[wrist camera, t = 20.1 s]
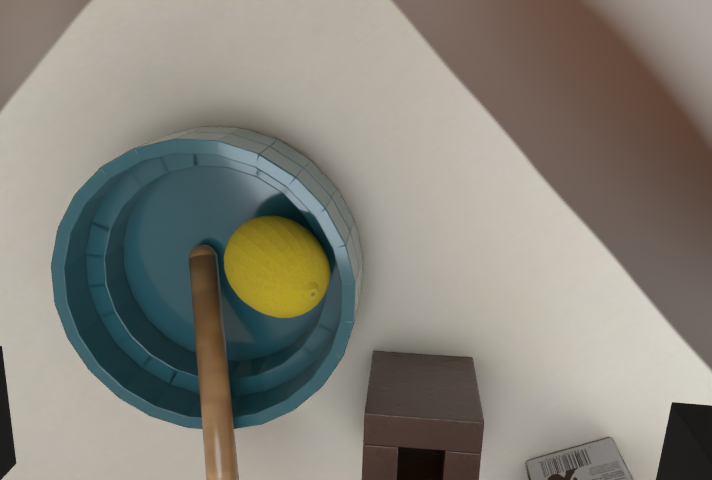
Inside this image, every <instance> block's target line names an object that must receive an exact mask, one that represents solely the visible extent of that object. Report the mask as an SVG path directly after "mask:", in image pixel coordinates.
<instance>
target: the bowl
mask: <svg viewBox="0 0 712 480" xmlns="http://www.w3.org/2000/svg"><path fill="white" fill-rule="evenodd" d="M260 216H280V217H284V218H287V219H291V220H293V221H295V222H297V223H298V224H300V225H301V226H303V227H305V228H306V229H307V230H309V231H310V232H311V233H312V234H313V235H314V237H315V238H316V239H317V240H318V242H319V243H320V244H321V245H322V247H323V249H324V250H325V253H326V255H327V258H328V260H329V265H330V281H329V285H328V288H327V291H326V293H325V295H324V296H323V298H322V300H321V301H320V302H319V303H318V304H317V305H316V306H315V307H314V308H313V309H311V310H310V311H308V312H306V313H304V314H302V315H300V316H296V317H293V318H277V317H273V316H270V315H266V314H263V313H261V312H259V311H257V310H255V309H253V308H252V307H251V306H249V305H248V304H246V303H245V302H244V301H242V300H241V299H240V298H239V297H238V295H237V294H236V293H235V291H234V290H233V288H232V287H231V286H230V284H229V282H228V279H227V276H226V273H225V269H224V254H225V249H226V246H227V243H228V241H229V239H230V237H231V236H232V235H233V233H234V232H235V230H237V229H238V228H239V227H240V226H241V225H242V224H244V223H245V222H247V221H249V220H251V219H254V218H257V217H260ZM198 245H208V246H210V247H212V248H213V249H214V250H215V252H216V254H217V257H218V267H219V278H220V288H221V298H222V309H223V319H224V330H225V340H226V350H227V361H228V371H229V381H230V392H231V402H232V412H233V423H234V429H236V428H242V427H248V426H255V425H260V424H264V423H266V422H268V421H270V420H273V419H275V418H277V417H279V416H282V415H284V414H286V413H288V412H291V411H293V410H294V409H296V408H297V407H298V406H299V405H301V404H302V403H303V402H304V401H306V400H307V399H308V398H309V397H310V396H312V395H313V394H314V393H315V392H317V391H318V390H319V389H320V388H321V387H322V386H323V385H324V384H325V382H326V381H327V379H328V378H329V376H330V375H331V373H332V372H333V371H334V369H335V368H336V366H337V365H338V363H339V362H340V360H341V359H342V357H343V355H344V352H345V349H346V346H347V343H348V340H349V337H350V334H351V331H352V328H353V325H354V321H355V316H356V311H357V307H358V302H359V298H360V293H361V285H362V259H363V256H362V250H361V246H360V242H359V237H358V233H357V229H356V225H355V221H354V219H353V217H352V215H351V213H350V211H349V209H348V208H347V206H346V204H345V202H344V200H343V198H342V197H341V195H340V193H339V191H338V189H337V188H336V187H335V186H334V184H333V183H332V182H331V181H330V180H329V179H328V178H327V177H326V176H325V175H324V174H323V173H322V172H321V171H320V170H319V168H318V167H317V166H316V165H315V164H314V163H313V162H312V161H310V160H309V159H308V158H306V157H305V156H303V155H302V154H300V153H298V152H297V151H295V150H294V149H292V148H291V147H289V146H287V145H286V144H284V143H283V142H281V141H279V140H277V139H275V138H271V137H268V136H265V135H262V134H259V133H256V132H252V131H249V130H246V129H241V128H229V127H207V126H206V127H200V128H195V129H191V130H187V131H182V132H178V133H174V134H170V135H167V136H164V137H162V138H159V139H157V140H154V141H151V142H149V143H146V144H144V145H141V146H138V147H136V148H134V149H132V150H130V151H128V152H126V153H125V154H123V155H121V156H119V157H118V158H116V159H114V160H112V161H110V162H109V163H107V164H105V165H103V166H102V167H101V168H99V169H98V171H97V172H96V173H95V174H94V175H93V176H92V177H91V178H90V179H89V180H88V181H87V182H86V183H85V184H84V185H83V186H82V187H81V188H80V189H79V190H78V191H77V193H76V194H75V195H74V197H73V199H72V201H71V203H70V205H69V207H68V209H67V211H66V213H65V215H64V217H63V219H62V221H61V223H60V225H59V227H58V230H57V235H56V241H55V246H54V252H53V257H52V263H51V271H52V282H53V292H54V302H55V306H56V308H57V311H58V314H59V316H60V319H61V322H62V325H63V327H64V330H65V333H66V335H67V338H68V340H69V341H70V343H71V344H72V346H73V347H74V349H75V350H76V352H77V353H78V355H79V356H80V358H81V359H82V361H83V362H84V363H85V365H86V366H87V368H88V369H89V370H90V372H92V373H93V374H94V375H95V376H96V377H97V378H98V379H99V380H100V381H101V382H102V383H103V384H104V385H106V386H107V387H108V388H109V389H110V390H111V391H112V392H113V393H114V394H115V395H116V396H118V398H120V399H122V400H124V401H125V402H127V403H129V404H130V405H132V406H134V407H136V408H137V409H139V410H141V411H142V412H144V413H146V414H148V415H149V416H152V417H155V418H158V419H161V420H164V421H167V422H171V423H174V424H177V425H180V426H183V427H187V428H197V429H203V428H202V416H201V404H200V393H199V381H198V369H197V357H196V345H195V333H194V321H193V309H192V297H191V285H190V273H189V261H188V260H189V254H190V252H191V250H192V249H193V248H194V247H196V246H198Z"/></svg>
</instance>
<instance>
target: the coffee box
mask: <svg viewBox="0 0 712 480" xmlns="http://www.w3.org/2000/svg"><path fill="white" fill-rule="evenodd" d="M526 470H527V474H528V478H529V480H633V478H632V476H631V474H630V473H629V470H628V468H627V466H626V464H625V462H624V460H623V458H622V456H621V454H620V452H619V450H618V448H617V446H616V444H615V442H614V440H613V439H612V438H606V439H603V440H599V441H596V442H592V443H589V444H585V445H582V446H578V447H574V448H571V449H567V450H564V451H560V452H557V453H553V454H550V455H546V456H542V457H539V458H536V459H532V460H529V461H527V462H526Z"/></svg>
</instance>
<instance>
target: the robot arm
mask: <svg viewBox="0 0 712 480" xmlns="http://www.w3.org/2000/svg"><path fill="white" fill-rule="evenodd" d="M15 464H16V457H15V449H14V441H13V433H12V425H11V417H10V409H9V401H8V393H7V384H6V376H5V368H4V360H3V352H2V346H0V480H1V479H2V478H3V477H4V476H5V475H6V474H7V473H8V472H9V470H10V469H11V468H12V467H13V466H14V465H15ZM656 480H712V406H709V405H697V404H685V403H673V402H672V405H671V410H670V415H669V420H668V424H667V429H666V434H665V439H664V444H663V449H662V453H661V458H660V463H659V468H658V473H657V477H656Z"/></svg>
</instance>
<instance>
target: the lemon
mask: <svg viewBox="0 0 712 480" xmlns="http://www.w3.org/2000/svg"><path fill="white" fill-rule="evenodd" d="M224 269H225V273H226V276H227V279H228V282H229V284H230V286H231V287H232V288H233V290H234V291H235V293H236V294H237V295H238V297H239V298H240V299H241V300H242V301H244V302H245V303H246V304H248V305H249V306H251V307H252V308H253V309H255V310H257V311H259V312H261V313H263V314H266V315H270V316H273V317H277V318H293V317H296V316H300V315H302V314H304V313H306V312H308V311H310V310H311V309H313V308H314V307H315V306H316V305H317V304H318V303H319V302H320V301H321V300H322V298H323V296H324V295H325V293H326V291H327V288H328V285H329V281H330V265H329V260H328V258H327V255H326V253H325V250H324V249H323V247H322V245H321V244H320V243H319V242H318V240H317V239H316V238H315V237H314V235H313V234H312V233H311V232H310V231H309V230H307V229H306V228H305V227H303V226H301V225H300V224H298V223H297V222H295V221H293V220H291V219H287V218H284V217H280V216H260V217H257V218H254V219H251V220H249V221H247V222H245V223H244V224H242V225H241V226H240V227H239V228H238V229H237V230H235V232H234V233H233V235H232V236H231V237H230V239H229V241H228V243H227V246H226V249H225V254H224Z"/></svg>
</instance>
